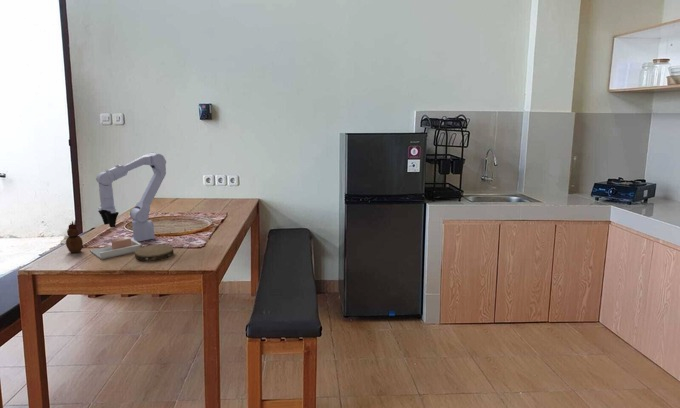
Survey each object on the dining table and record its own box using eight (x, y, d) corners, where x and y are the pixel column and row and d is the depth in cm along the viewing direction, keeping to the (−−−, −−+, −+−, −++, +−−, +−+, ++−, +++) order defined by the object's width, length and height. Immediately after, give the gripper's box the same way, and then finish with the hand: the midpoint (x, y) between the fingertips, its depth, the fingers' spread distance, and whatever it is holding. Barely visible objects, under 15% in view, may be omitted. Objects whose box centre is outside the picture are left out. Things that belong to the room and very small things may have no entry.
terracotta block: (112, 250, 220) (111, 239, 218) (128, 247, 224) (127, 236, 223) (115, 252, 216) (114, 241, 215) (131, 249, 221) (130, 238, 220)
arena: (130, 243, 232) (129, 237, 231) (142, 250, 221) (142, 244, 220) (90, 251, 220) (89, 245, 219) (101, 259, 209) (100, 252, 208)
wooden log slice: (142, 251, 221) (141, 245, 220) (177, 250, 222) (177, 244, 221) (129, 262, 205) (129, 256, 204) (167, 261, 206) (167, 255, 205)
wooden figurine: (85, 251, 220) (82, 219, 217) (73, 254, 215) (69, 222, 212) (77, 249, 224) (73, 217, 221) (65, 252, 219) (60, 220, 216)
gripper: (92, 196, 228) (95, 224, 231) (103, 201, 218) (106, 229, 221) (108, 194, 233) (110, 221, 236) (119, 198, 223) (122, 227, 226)
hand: (109, 225), depth 229 cm, fingers open, 7 cm apart
